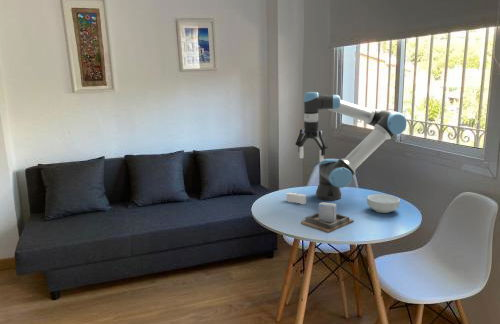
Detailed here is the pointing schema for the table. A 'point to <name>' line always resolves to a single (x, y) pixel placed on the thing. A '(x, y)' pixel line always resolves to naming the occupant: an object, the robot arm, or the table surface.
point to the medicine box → (327, 212)
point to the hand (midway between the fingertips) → (311, 159)
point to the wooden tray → (326, 226)
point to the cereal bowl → (383, 203)
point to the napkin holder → (296, 198)
